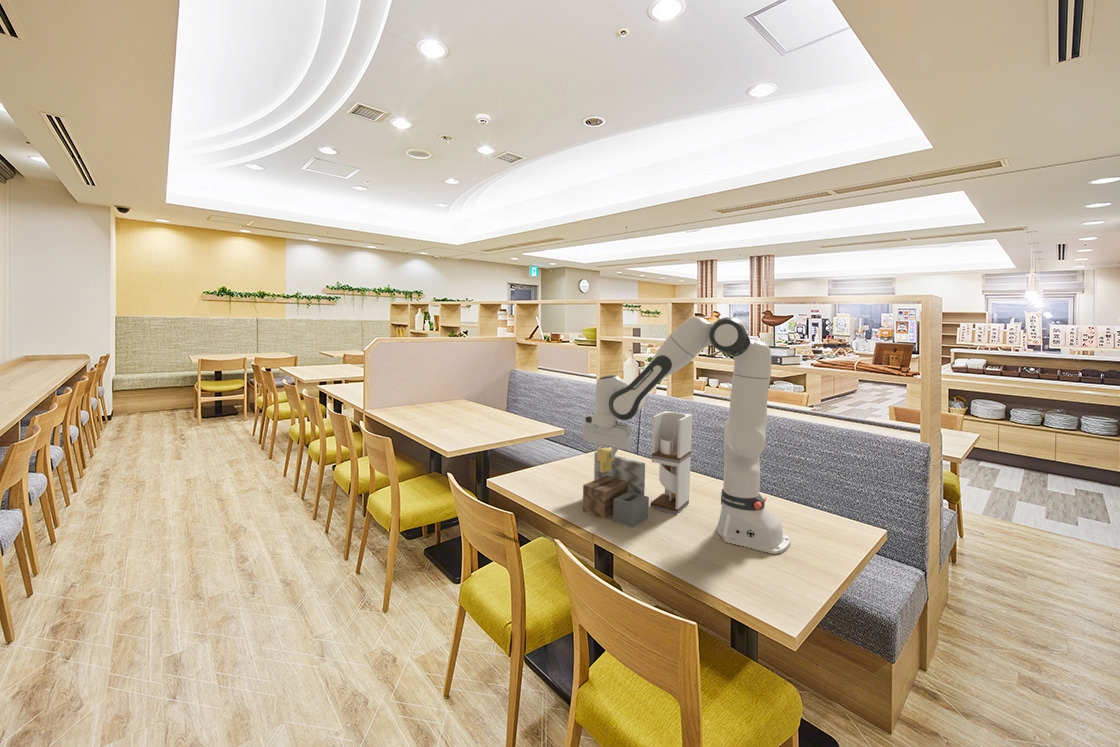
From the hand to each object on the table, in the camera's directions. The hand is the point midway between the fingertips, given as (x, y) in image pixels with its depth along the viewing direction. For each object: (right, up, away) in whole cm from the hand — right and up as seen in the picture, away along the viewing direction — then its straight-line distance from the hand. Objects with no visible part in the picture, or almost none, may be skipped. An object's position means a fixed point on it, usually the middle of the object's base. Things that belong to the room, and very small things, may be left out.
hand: (606, 456), depth 173 cm
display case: (+25, -20, +6) cm, 32 cm away
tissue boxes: (0, -20, +3) cm, 20 cm away
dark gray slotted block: (+8, -21, -6) cm, 24 cm away
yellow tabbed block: (0, -5, +1) cm, 5 cm away
